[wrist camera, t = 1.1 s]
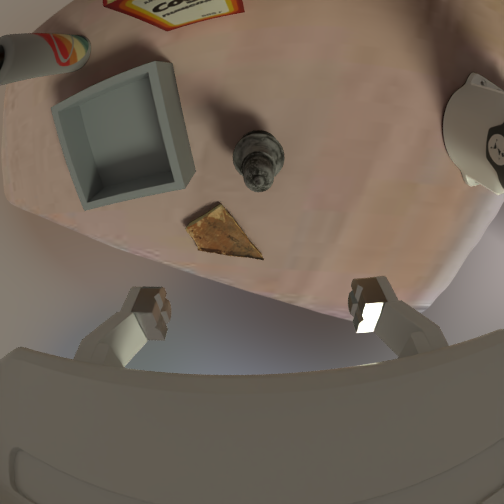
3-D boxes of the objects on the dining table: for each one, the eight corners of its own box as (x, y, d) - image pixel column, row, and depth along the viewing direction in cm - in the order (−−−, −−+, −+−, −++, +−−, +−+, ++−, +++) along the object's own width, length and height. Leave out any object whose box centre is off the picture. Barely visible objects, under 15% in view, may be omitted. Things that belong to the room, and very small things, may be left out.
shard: (264, 254, 43) (264, 261, 41) (224, 273, 45) (223, 280, 44) (223, 200, 38) (221, 205, 36) (182, 225, 40) (179, 231, 39)
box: (172, 63, 26) (155, 60, 21) (195, 171, 34) (185, 188, 30) (76, 100, 27) (50, 107, 23) (104, 192, 36) (84, 210, 31)
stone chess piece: (277, 124, 31) (287, 146, 21) (285, 167, 34) (297, 209, 24) (230, 133, 32) (216, 160, 22) (240, 175, 35) (233, 220, 25)
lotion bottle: (94, 32, 22) (-19, 31, 6) (89, 70, 25) (-27, 93, 9) (64, 38, 21) (-46, 49, 5) (59, 74, 24) (-51, 103, 8)
